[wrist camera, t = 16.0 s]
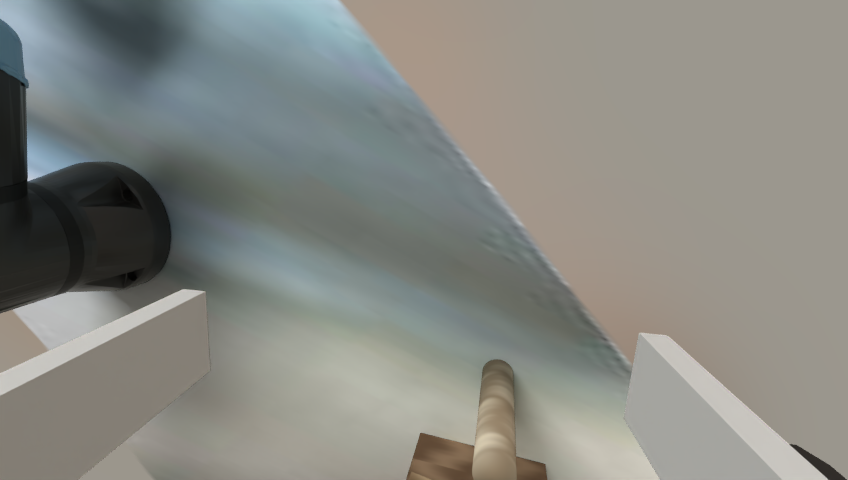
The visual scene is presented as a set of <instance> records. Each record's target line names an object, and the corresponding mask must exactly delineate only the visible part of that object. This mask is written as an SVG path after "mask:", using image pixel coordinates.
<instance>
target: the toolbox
mask: <svg viewBox="0 0 848 480" xmlns="http://www.w3.org/2000/svg"><path fill="white" fill-rule="evenodd" d="M474 447H475V446H471V445H467V444H463V443H459V442H455V441H451V440H447V439H443V438H439V437H435V436H431V435H427V434H423V433H420V436H419V440H418V443H417V446H416V449H415V453H414V456H413V459H412V462H411V466H410V469H409V472H408V475H407V479H406V480H409V477H410V474H411V472H414V473H416V474H419V475H421V476H424V477H426V478H429V479H431V480H474V479H473V476H472V466H473V457H474ZM516 472H517V479H516V480H547V476H546V468H545V464H543V463H539V462H535V461H531V460H527V459H523V458H519V457H516Z"/></svg>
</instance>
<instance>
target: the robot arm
mask: <svg viewBox="0 0 848 480" xmlns="http://www.w3.org/2000/svg"><path fill="white" fill-rule="evenodd" d="M26 88H29V83H28V80H27V79H26V78H25V74H24V63H23V52H22V44H21V41H20V38H19V37H18V35H17V33H16V32H15V31H14V30H13V29H12V28H11V27H10V26H9V25H8V24H7V23H5V22H4V21H2V20H1V19H0V313H3V312H6V311H9V310H12V309H15V308H18V307H21V306H25V305H28V304H31V303H34V302H37V301H40V300H43V299H46V298H49V297H52V296H55V295H59V294H62V293H66V292H87V291H117V290H123V289H127V288H130V287H133V286H136V285H139V284H142V283H144V282H147V281H149V280H150V279H152V278H153V277H154V276H155V275H156V274H157V273H158V272H159V271H160V270H161V269H162V267H163V265H164V263H165V261H166V259H167V256H168V253H169V248H170V227H169V222H168V218H167V214H166V211H165V209H164V206H163V204H162V202H161V200H160V198H159V197H158V195H157V194H156V192H155V191H154V189H153V188H152V187H151V186H150V184H149V183H148V182H147V181H146V180H145V179H144V178H143V177H141V176H140V175H139V174H138V173H136V172H135V171H133V170H132V169H130V168H128V167H126V166H124V165H121V164H118V163H113V162H84V163H78V164H74V165H71V166H69V167H66V168H63V169H60V170H58V171H55V172H52V173H50V174H47V175H44V176H42V177H39V178H36V179H33V180H31V181H28V182H27V178H28V173H27V121H26ZM209 371H210V354H209V338H208V321H207V305H206V291H198V290H187V289H182V290H180V291H178V292H176V293H174V294H171V295H169V296H167V297H165V298H163V299H160V300H158V301H156V302H154V303H152V304H150V305H147V306H145V307H143V308H141V309H139V310H137V311H134V312H132V313H130V314H128V315H126V316H124V317H121V318H119V319H117V320H115V321H113V322H111V323H108V324H106V325H104V326H102V327H100V328H97V329H95V330H93V331H91V332H89V333H87V334H84V335H82V336H80V337H78V338H76V339H74V340H71V341H69V342H67V343H65V344H63V345H61V346H58V347H56V348H54V349H52V350H50V351H47V352H45V353H43V354H41V355H39V356H37V357H34V358H32V359H30V360H28V361H26V362H24V363H22V364H19V365H17V366H15V367H13V368H11V369H8V370H6V371H4V372H2V373H0V480H78V479H79V478H80V477H82V476H83V475H84V474H85V473H87V472H88V471H89V470H90V469H92V468H93V467H94V466H95V465H96V464H97V463H99V462H100V461H101V460H102V459H104V458H105V457H106V456H107V455H108V454H110V453H111V452H112V451H113V450H115V449H116V448H117V447H118V446H119V445H121V444H122V443H123V442H124V441H126V440H127V439H128V438H129V437H130V436H132V435H133V434H134V433H135V432H136V431H138V430H139V429H140V428H141V427H143V426H144V425H145V424H146V423H147V422H149V421H150V420H151V419H152V418H153V417H155V416H156V415H157V414H158V413H160V412H161V411H162V410H163V409H164V408H166V407H167V406H168V405H169V404H170V403H172V402H173V401H174V400H175V399H177V398H178V397H179V396H180V395H181V394H183V393H184V392H185V391H186V390H187V389H189V388H190V387H191V386H192V385H194V384H195V383H196V382H197V381H198V380H200V379H201V378H202V377H203V376H204V375H206V374H207V373H208V372H209ZM624 420H625V421H626V423H627V425H628V427H629V428H630V430H631V432H632V433H633V435H634V437H635V438H636V440H637V442H638V443H639V445H640V447H641V448H642V450H643V452H644V453H645V455H646V457H647V459H648V460H649V462H650V464H651V465H652V467H653V469H654V470H655V472H656V474H657V475H658V477H659V479H660V480H847V479H845V478H844V477H843V476H842V475H841V474H839V473H838V472H837V471H836V470H835V469H834V468H832V467H831V466H830V465H828V464H827V463H825V462H823V461H822V460H820V459H819V458H817V457H815V456H814V455H812V454H810V453H809V452H807V451H805V450H804V449H802V448H801V447H799V446H797V445H792V444H788V443H787V442H786V441H784V439H782V438H781V437H780V436H779V435H778V434H777V433H776V432H775V431H774V430H772V429H771V428H770V427H769V426H768V425H767V424H766V423H765V422H764V421H762V420H761V419H760V418H759V417H758V416H757V415H756V414H755V413H753V412H752V411H751V410H750V409H749V408H748V407H747V406H746V405H745V404H743V403H742V402H741V401H740V400H739V399H738V398H737V397H736V396H735V395H733V394H732V393H731V392H730V391H729V390H728V389H726V388H725V387H724V386H723V385H722V384H721V383H720V382H719V381H718V380H717V379H716V378H714V377H713V376H712V375H711V374H710V373H709V372H708V371H707V370H705V369H704V368H703V367H702V366H701V365H700V364H699V363H698V362H697V361H695V360H694V359H693V358H692V357H691V356H690V355H689V354H688V353H686V352H685V351H684V350H683V349H682V348H681V347H680V346H679V345H678V344H676V343H675V342H674V341H673V340H672V339H671V338H670V337H669V336H667V335H658V334H648V333H639V336H638V342H637V348H636V353H635V358H634V364H633V369H632V375H631V380H630V386H629V391H628V397H627V402H626V408H625V413H624Z"/></svg>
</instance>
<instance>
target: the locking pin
mask: <svg viewBox="0 0 848 480" xmlns="http://www.w3.org/2000/svg"><path fill="white" fill-rule="evenodd" d="M472 476H473V479H474V480H516V479H517V472H516V443H515V414H514V385H513V370H512V368H511V367H510V365H509V364H508V363H506V362H505V361H502V360H491V361H489V362H488V363H486V364H485V366H484V368H483V372H482V381H481V391H480V400H479V410H478V419H477V429H476V438H475V447H474V457H473V466H472Z"/></svg>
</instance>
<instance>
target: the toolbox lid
mask: <svg viewBox="0 0 848 480" xmlns="http://www.w3.org/2000/svg"><path fill="white" fill-rule="evenodd" d="M409 480H431V479H429V478H426V477H424V476H421V475H419V474H416V473H414V472H411V474H410V477H409Z"/></svg>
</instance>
